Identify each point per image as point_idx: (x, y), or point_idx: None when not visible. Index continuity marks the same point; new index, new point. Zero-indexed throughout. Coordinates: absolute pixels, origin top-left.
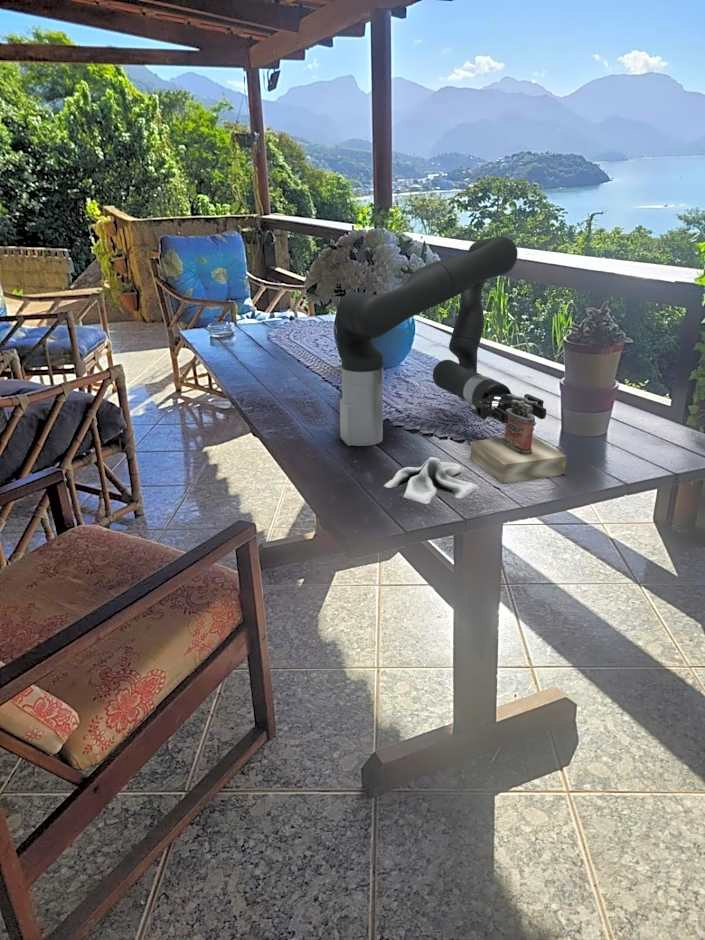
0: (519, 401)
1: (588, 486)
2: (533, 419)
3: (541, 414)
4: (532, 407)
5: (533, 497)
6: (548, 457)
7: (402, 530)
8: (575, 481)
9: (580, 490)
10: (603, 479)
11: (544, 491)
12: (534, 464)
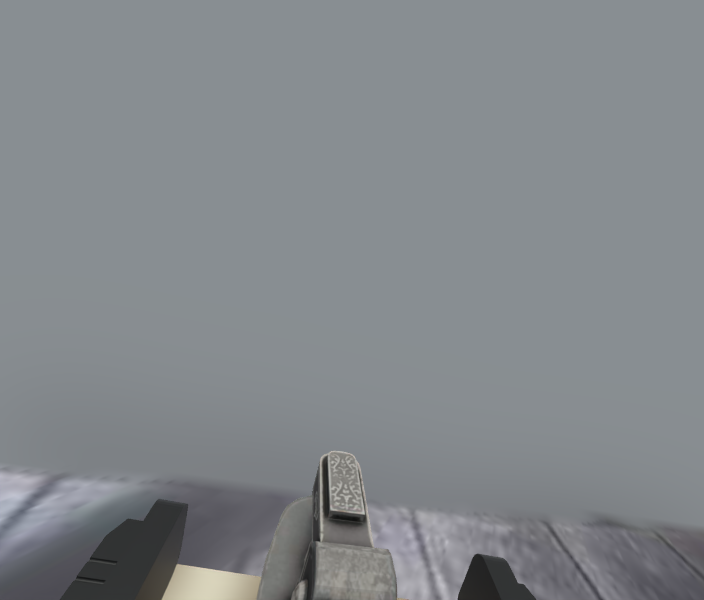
0: (368, 558)
1: None
2: (311, 496)
3: (176, 546)
4: (322, 456)
5: None
6: (219, 584)
7: (663, 537)
8: None
9: (215, 504)
10: (65, 524)
11: None
12: None
